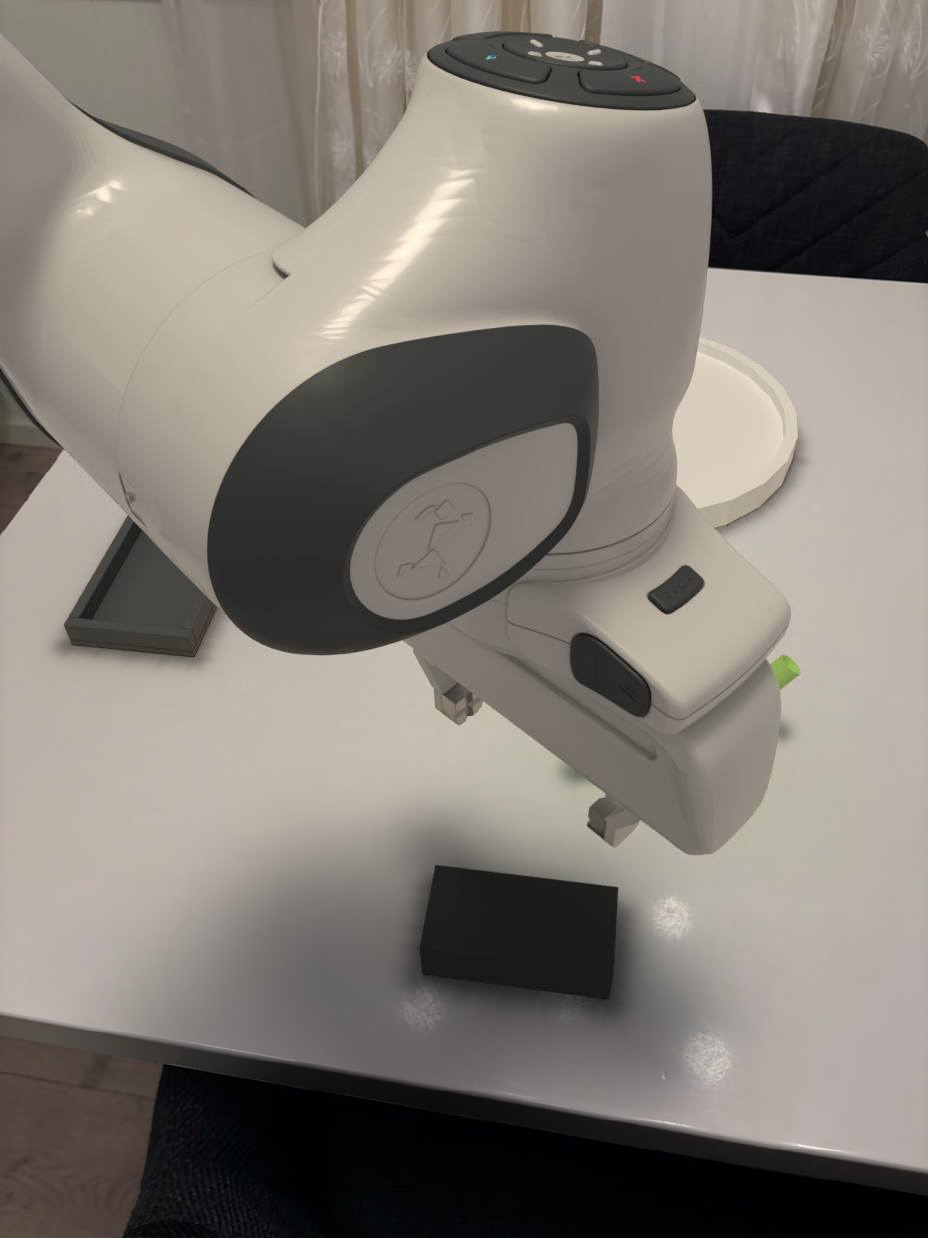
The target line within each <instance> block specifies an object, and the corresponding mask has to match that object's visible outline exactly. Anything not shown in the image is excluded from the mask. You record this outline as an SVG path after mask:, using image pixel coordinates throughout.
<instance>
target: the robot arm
mask: <svg viewBox="0 0 928 1238" xmlns="http://www.w3.org/2000/svg"><path fill="white" fill-rule="evenodd" d="M711 152H712V151H711V143H710V137H709V130H708V124H707V120H706V116H705V112H704V109H703V106H702V104H701V102H700V99H699V98H698V96H697V95H696V93H694V92H693V90H692V89H690V88H689V87H688V86H687V85H686V84H685V83H684V82H682V79H681V78H680V76H678V75H677V74H676V73H674V72H672V71H670V69H667V68H666V67H664V66H662V65H659V64H656V63H654V62H651V61H649V60H646V59H644V58H641V57H639V56H636V55H634V54H631V53H628V52H626V51H622V50H619V49H616V48H613V47H610V46H606V45H603V44H599V43H596V42H591V41H588V40H585V39H579V40H576V39H571V38H567V37H558V36H553V35H552V34H551V33H540V32H529V31H528V32H526V31H512V30H511V31H510V30H509V31H508V30H494V31H492V30H491V31H481V32H473V33H467V34H460V35H457V36H454V37H453V38H452V39H451V40H447V41H444V42H441V43H438V44H436V45H434V46H432V47H431V48H429V49H428V50H427V51H426V52H425V53H424V54H423V55H422V58H421V59H420V62H419V65H418V67H417V71H416V74H415V78H414V83H413V87H412V92H411V96H410V99H409V102H408V105H407V107H406V110H405V112H404V113H403V115H402V117H401V119H400V121H399V122H398V124H397V125H396V127H395V128H394V130H393V131H392V133H391V134H390V136H389V137H388V139H387V140H386V141H385V143H384V145H383V146H382V148H380V150H379V151H378V153H377V154H376V155H375V157H374V158H373V160H372V161H371V163H370V164H369V165H368V166H367V167H366V168H365V170H364V171H363V172H362V173H361V174H360V175H359V177H358V178H356V180H355V182H353V184H351V186H350V187H349V188H348V189H347V190H346V191H345V192H344V193H343V194H342V196H340V197H339V198H338V199H337V201H335V202H334V203H333V204H332V205H331V206H330V207H329V208H328V209H327V210H326V211H324V213H323V214H321V215H320V216H319V217H317V218H316V219H315V220H314V221H313V222H312V223H311V224H309V225H307V226H306V227H304V226H303V225H301V224H299V223H298V222H296V221H294V220H293V219H291V218H290V217H287V216H286V215H284V214H283V213H281V212H279V211H278V210H276V209H274V208H272V207H271V206H269V205H267V204H265V203H264V202H262V201H260V200H259V199H257V198H256V197H255V196H254V195H253V194H252V193H251V192H250V191H248V190H247V189H246V188H245V187H243V186H242V185H240V184H239V183H237V182H236V181H235V180H233V179H232V178H230V177H229V176H228V175H226V174H225V173H223V172H222V171H220V170H219V169H218V168H217V167H215V166H214V165H212V164H210V162H208V161H206V160H205V159H203V158H201V157H199V156H198V155H196V154H194V153H192V152H190V151H188V150H186V149H185V148H182V147H179V146H177V145H175V144H173V143H171V142H168V141H166V140H163V139H160V138H157V137H154V136H152V135H149V134H145V133H142V132H140V131H136V130H133V129H131V128H128V127H124V126H121V125H119V124H115V123H112V122H110V121H107V120H104V119H102V118H99V117H97V116H94V115H92V114H90V113H89V112H87V111H86V110H84V109H83V108H81V107H79V106H78V105H77V104H75V103H73V102H72V101H71V100H70V99H69V98H67V97H66V96H64V95H63V94H62V93H61V92H60V91H59V90H58V89H57V88H56V87H55V86H54V85H53V84H52V83H50V81H49V80H48V79H47V78H46V77H45V76H44V75H43V74H42V73H40V71H39V70H38V69H37V68H36V67H35V66H34V65H33V63H31V62H30V61H29V60H28V59H26V57H25V56H24V55H23V54H22V53H21V52H20V51H19V50H18V49H17V48H16V47H15V46H14V45H13V44H12V43H11V42H10V41H9V40H8V39H7V38H6V37H5V36H4V35H3V34H2V33H1V32H0V393H1V394H2V395H3V396H4V398H5V399H6V400H7V401H8V402H9V403H10V404H11V405H12V406H13V407H14V408H15V409H16V410H17V411H18V412H19V413H20V414H21V415H22V416H24V418H26V419H27V420H28V421H29V422H30V423H31V424H32V425H34V426H35V428H37V429H38V430H39V431H40V432H41V433H43V434H44V435H45V436H46V437H47V438H48V439H49V440H51V441H52V442H53V443H55V444H56V445H57V446H58V447H60V448H61V449H63V450H64V451H65V452H66V453H67V454H68V455H69V456H70V457H71V458H72V459H73V460H74V461H75V462H76V463H77V464H78V465H79V466H80V467H81V468H82V469H83V471H84V472H86V473H87V475H88V476H89V477H91V478H92V480H93V481H94V482H95V483H96V484H97V485H98V486H99V487H100V488H101V489H102V490H103V491H104V492H105V493H106V495H108V496H109V497H110V499H112V501H114V503H116V504H117V506H118V507H119V508H120V509H121V510H122V511H123V512H124V513H125V514H126V515H127V516H129V517H130V518H131V519H132V520H133V521H134V522H135V523H136V524H137V525H138V526H139V527H140V528H141V529H142V530H143V531H144V532H145V533H146V534H147V536H148V537H149V538H150V539H151V540H152V542H153V543H154V544H155V545H156V546H157V547H158V548H159V549H160V550H161V551H162V552H163V553H164V554H165V555H166V556H167V557H168V558H169V559H170V560H171V561H172V562H173V563H174V564H175V565H176V566H177V567H178V568H179V569H180V570H181V571H182V572H183V573H184V574H185V575H186V577H187V578H188V579H189V580H190V581H191V582H193V583H194V584H195V585H196V586H197V587H198V588H199V589H200V590H201V591H202V592H203V593H204V594H205V595H206V596H207V597H208V598H209V599H210V600H211V601H212V602H213V603H214V604H215V605H216V606H217V607H216V608H218V609H219V610H220V611H221V612H222V613H223V614H224V615H226V617H227V618H228V619H229V621H230V622H232V624H233V625H234V626H235V627H236V628H237V629H238V630H240V631H241V632H242V633H243V634H244V635H246V636H247V637H249V638H250V639H251V640H253V641H254V642H256V643H259V644H260V645H262V646H265V647H267V648H270V649H272V650H275V651H279V652H283V653H287V654H292V655H302V656H337V655H339V656H340V655H348V654H349V655H350V654H355V653H361V652H365V651H370V650H374V649H378V648H382V647H385V646H389V645H393V644H395V643H399V642H401V641H403V642H404V643H405V644H407V645H408V646H409V647H410V648H412V653H413V655H414V657H415V659H416V660H417V662H418V664H419V665H420V668H421V669H422V671H423V673H424V675H425V677H426V679H427V681H428V682H429V684H430V686H431V688H433V701H434V708H435V709H436V710H437V711H438V712H439V713H441V714H442V715H443V716H445V717H446V718H448V719H449V720H450V721H451V722H453V723H454V724H456V725H457V726H461V725H463V724H464V723H465V722H467V720H468V717H473V716H474V715H476V714H477V713H479V711H480V709H481V708H482V706H483V703H485V704H486V705H488V706H489V707H490V708H491V709H492V710H493V711H495V712H497V713H498V714H499V715H501V716H502V717H504V718H505V719H506V720H507V721H508V722H510V723H511V724H512V725H514V726H515V727H516V728H518V729H519V730H520V731H522V732H523V733H525V734H526V735H527V736H529V737H530V738H531V739H532V740H533V741H535V742H536V743H538V744H539V745H541V746H542V747H543V748H544V749H546V750H547V751H548V752H550V753H551V754H552V755H554V756H555V757H556V758H558V759H559V760H560V761H562V763H565V764H566V765H567V766H569V767H570V768H571V769H572V770H574V771H575V772H576V773H577V774H578V775H580V776H582V777H583V778H584V779H586V780H587V781H588V782H590V783H591V784H593V785H594V786H595V787H596V788H597V789H599V790H600V791H602V792H603V793H604V794H605V795H604V797H599V798H598V799H597V800H595V802H593V803H592V804H591V805H590V806H589V807H588V812H587V817H588V821H587V823H586V827H587V828H588V829H589V830H590V831H592V832H593V833H594V834H595V835H597V836H598V838H600V839H602V840H603V841H604V842H605V843H606V844H608V845H609V846H610V847H612V848H614V849H615V848H617V847H618V846H619V845H621V844H622V843H623V842H624V841H625V840H626V839H627V838H628V837H629V836H630V835H631V834H632V833H633V832H634V831H635V830H636V828H637V827H638V825H639V823H640V822H641V821H642V823H644V824H645V825H646V826H648V827H649V828H650V829H652V830H654V832H656V833H657V834H658V835H660V836H661V837H662V838H664V839H665V840H667V841H668V842H669V843H670V844H672V845H673V846H674V847H675V848H677V849H678V850H679V851H681V852H682V853H684V854H686V855H689V856H706V855H711V854H714V853H716V852H717V851H719V850H720V849H721V848H723V847H724V846H725V845H726V844H727V843H728V842H729V841H730V840H731V839H732V838H733V837H735V835H736V834H738V833H739V831H740V830H741V829H742V828H743V826H744V825H746V823H747V822H748V821H749V820H750V819H751V817H752V816H753V815H754V814H755V813H756V811H757V810H758V808H759V807H760V806H761V804H762V802H763V801H764V798H765V795H766V792H767V790H768V786H769V783H770V780H771V776H772V772H773V768H774V764H775V759H776V753H777V748H778V742H779V736H780V735H779V734H780V728H781V717H782V695H781V694H782V693H781V690H780V688H779V684H778V681H777V678H776V675H775V673H774V671H773V669H772V667H771V666H770V664H771V663H770V662H769V661H768V659H767V658H768V657H769V656H770V655H771V653H772V652H773V651H774V650H775V648H776V647H777V646H778V644H779V643H780V642H781V641H782V639H783V638H784V636H785V635H786V633H787V631H788V629H789V626H790V623H791V617H792V609H791V606H790V603H789V601H788V599H787V597H786V596H785V595H784V594H783V592H782V591H781V590H779V589H780V588H778V587H777V586H776V585H775V584H774V583H772V581H770V580H769V579H768V578H767V577H766V576H765V575H764V574H763V573H762V572H761V571H759V570H758V569H757V568H756V567H755V566H754V565H753V564H752V563H751V562H750V561H749V560H747V558H745V557H744V556H743V555H742V554H741V553H740V552H739V551H738V550H737V549H736V548H735V547H734V546H733V545H732V544H731V543H730V542H729V541H727V539H726V538H725V537H724V536H723V535H722V534H721V533H720V532H719V531H718V530H717V529H716V528H714V527H713V526H712V525H711V524H710V523H709V521H708V520H707V519H706V518H705V517H704V516H703V515H702V514H701V512H700V511H699V510H698V509H697V507H696V506H695V505H694V504H693V502H692V501H691V500H690V498H689V497H688V496H687V495H686V494H685V492H684V491H683V490H682V489H681V488H680V487H678V486H677V485H676V482H677V455H676V448H675V444H674V440H673V433H672V428H673V421H674V417H675V414H676V411H677V409H678V407H679V405H680V403H681V402H682V400H683V398H684V396H685V394H686V392H687V389H688V387H689V385H690V382H691V379H692V376H693V372H694V367H695V361H696V355H697V349H698V343H699V336H700V335H701V330H702V322H703V314H704V305H705V297H706V291H707V282H708V270H709V259H710V250H711V234H712V220H713V219H712V218H713V217H712V216H713V215H712V213H713V169H712V166H713V165H712V155H711V154H712V153H711ZM700 337H701V336H700Z"/></svg>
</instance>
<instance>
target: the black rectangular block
mask: <svg viewBox="0 0 928 1238" xmlns="http://www.w3.org/2000/svg"><path fill="white" fill-rule="evenodd" d="M431 881H432V882H431V885H430V892H429V895H428V896H429V897H428V900H427V905H426V911H425V916H424V920H423V921H424V922H423V928H422V931H421V937H420V941H419V947H418V948H419V957H420V965H421V966H420V968H421V974H422V976H430V977H437V978H445V979H450V980H451V979H452V980H459V981H467V982H474V983H481V984H490V985H496V986H504V987H512V988H518V989H519V988H520V989H525V990H526V989H527V990H533V991H542V992H548V993H555V994H556V993H557V994H564V995H570V996H571V995H572V996H577V997H578V996H579V997H587V998H593V999H601V1000H607V1001H608V1000H610V998H611V992H612V988H613V981H614V976H615V960H616V959H615V958H616V942H617V941H616V940H617V921H618V902H619V887H618V886H612V885H605V884H597V883H588V882H582V881H571V880H565V879H564V880H563V879H555V878H547V877H538V876H529V875H523V874H516V873H515V874H514V873H506V872H500V871H499V872H498V871H489V870H483V869H482V870H481V869H473V868H465V867H457V866H449V865H442V864H441V865H440V864H435V865H434V869H433V876H432V880H431Z"/></svg>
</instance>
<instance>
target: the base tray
mask: <svg viewBox="0 0 928 1238" xmlns="http://www.w3.org/2000/svg"><path fill="white" fill-rule="evenodd" d="M217 608H218V607H217V606H216V605H215V604H214V603H213V602H212V601H211V600H210V599H209V598H208V597H207V596H206V595H205V594H204V593H203V592H202V591H201V590H200V589H199V588H198V587H197V586H196V585H195V584H194V583H193V582H191V581H190V580H189V579H188V578H187V577H186V575H185V574H184V573H183V572H182V571H181V570H180V569H179V568H178V567H177V566H176V565H175V564H174V563H173V562H172V561H171V560H170V559H169V558H168V557H167V556H166V555H165V554H164V553H163V552H162V551H161V550H160V549H159V548H158V547H157V546H156V545H155V544H154V543H153V542H152V540H151V539H150V538H149V537H148V536H147V534H146V533H145V532H144V531H143V530H142V529H141V528H140V527H139V526H138V525H137V524H136V523H135V522H134V521H133V520H132V519H131V518H130V517H129V516H128V515H127V516H126V518H125V519H124V520H123V523H122V524H121V525H120V528H119V530H117V533H116V535H115V536H114V538H113V540H112V541H111V542H110V545H109V547H108V548H107V550H106V552H105V553H104V555H103V556H102V559H100V562H99V564H98V565H97V567H96V569H95V570H94V572H93V573H92V576H91V577H90V578H89V581H88V582H87V584H86V585H85V587H84V589H83V591H82V592H81V594H80V596H79V598H78V600H77V601H76V603H75V605H74V606H73V608H72V609H71V611H70V613H69V615H68V617H67V618H66V619H65V621H64V623H63V627H64V630H65V631H66V634H67V636H68V639H69V643H70V644H71V645H73V646H74V645H75V646H85V647H93V648H104V649H115V650H124V651H125V650H126V651H136V652H145V653H154V654H164V655H165V654H166V655H175V656H185V657H192V658H193V657H195V656H196V653H197V651H198V649H199V647H200V644H201V643H202V641H203V638H204V636H205V634H206V632H207V629H208V627H209V625H210V623H211V620H212V618H213V616H214V614H215V612H216V609H217Z"/></svg>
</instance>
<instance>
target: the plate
mask: <svg viewBox="0 0 928 1238" xmlns="http://www.w3.org/2000/svg"><path fill="white" fill-rule="evenodd" d="M672 433H673V440H674V444H675V448H676V455H677V482H676V485H677V486H678V487H680V488H681V489H682V490H683V491H684V492H685V494H686V495H687V496H688V497H689V498H690V500H691V501H692V502H693V504H694V505H695V506H696V507H697V509H698V510H699V511H700V512H701V514H702V515H703V516H704V517H705V518H706V519H707V520H708V521H709V523H710V524H711V525H712V526H713V527H714V528H715V529H716V528H719V527H723V526H727V525H729V524H730V523H732V522H734V521H736V520H738V519H740V518H742V517H744V516H746V515H747V514H749V513H752V512H754V511H755V510H757V509H759V508H760V507H762V505H763V504H764V503H765V502H767V500H769V498H770V497H771V496H772V495H773V494H774V493H776V492H777V490H778V489H780V488H781V486H782V485H783V483H784V480H785V478H786V476H787V473H788V471H789V468H790V466H791V463H792V461H793V458H794V453H795V450H796V446H797V442H798V437H799V431H798V416H797V410H796V408H795V405H794V403H793V402H792V400H791V398H790V397H789V395H788V392H787V391H786V389H785V387H784V386H783V385H782V384H781V383H780V382H779V381H778V380H777V379H776V378H775V377H773V375H772V374H770V372H768V371H767V370H766V368H764V367H763V366H762V365H761V364H759V363H757V362H756V361H754V360H752V359H751V358H749V357H747V356H745V355H744V354H742V353H740V352H739V351H737V350H735V349H734V348H732V347H729V346H726V345H724V344H721V343H719V342H716V341H713V340H710V339H708V338H705V337H703V336H699V343H698V349H697V355H696V361H695V367H694V372H693V376H692V379H691V382H690V385H689V387H688V389H687V392H686V394H685V396H684V398H683V400H682V402H681V403H680V405H679V407H678V409H677V411H676V414H675V417H674V421H673V428H672Z"/></svg>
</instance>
